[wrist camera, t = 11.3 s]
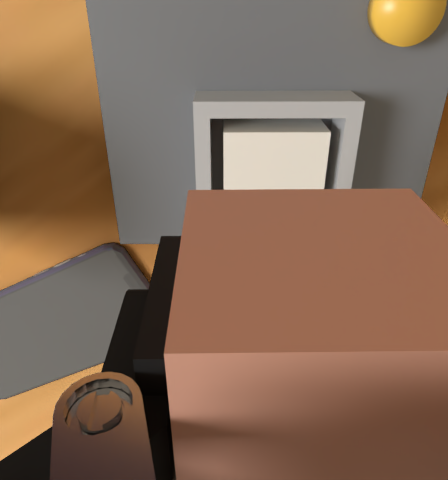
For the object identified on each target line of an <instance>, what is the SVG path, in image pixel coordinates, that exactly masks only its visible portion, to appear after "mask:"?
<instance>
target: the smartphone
mask: <svg viewBox="0 0 448 480" xmlns="http://www.w3.org/2000/svg"><path fill="white" fill-rule="evenodd" d="M149 286H150V283H149V282H148V281H147V279H146V278H145V276H144V275H143V274H142V272H141V271H140V269H139V268H138V267H137V265H136V264H135V262H134V261H133V260H132V258H131V257H130V255H129V254H128V253H127V251H126V250H125V249H124V248H123V247H122V246H120V245H118V244H116V243H108V244H103V245H101V246H99V247H96V248H94V249H92V250H90V251H88V252H85V253H83V254H81V255H79V256H76V257H74V258H72V259H71V258H70V259H68V260H66V261H64V262H61V263H59V264H57V265H55V266H54V267H52V268H48V269H46V270H44V271H41V272H39V273H37V274H35V275H34V276H32V277H30V278H27V279H25V280H23V281H21V282H19V283H16V284H14V285H12V286H10V287H7V288H5V289H3V290H1V291H0V399H7V398H9V397H12V396H15V395H18V394H20V393H23V392H26V391H28V390H31V389H34V388H36V387H39V386H42V385H44V384H47V383H50V382H53V381H55V380H58V379H61V378H63V377H66V376H69V375H71V374H74V373H77V372H79V371H82V370H85V369H88V368H90V367H93V366H96V365H98V364H101V363H104V361H105V358H106V355H107V352H108V348H109V345H110V342H111V338H112V335H113V332H114V329H115V325H116V322H117V319H118V315H119V312H120V309H121V306H122V302H123V299H124V296H125V293H126V291H127V290H128V289H149Z"/></svg>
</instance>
